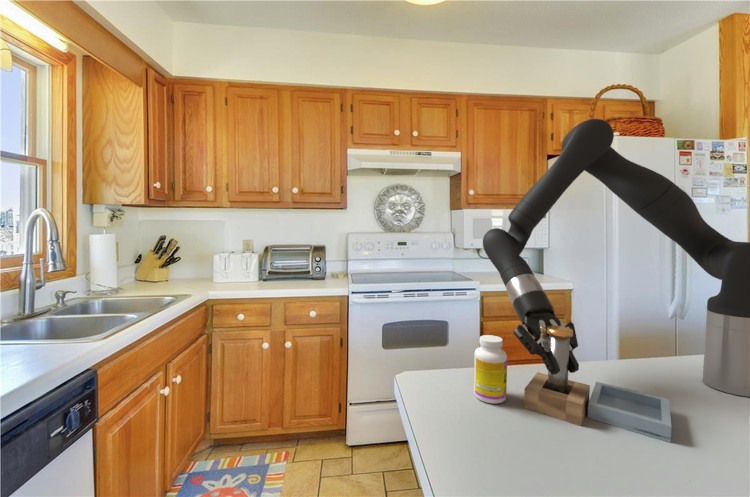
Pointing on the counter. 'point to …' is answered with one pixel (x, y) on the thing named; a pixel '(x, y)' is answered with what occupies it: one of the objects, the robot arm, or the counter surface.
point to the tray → (631, 410)
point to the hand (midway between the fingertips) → (565, 371)
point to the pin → (559, 357)
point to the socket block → (557, 399)
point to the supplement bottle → (490, 370)
